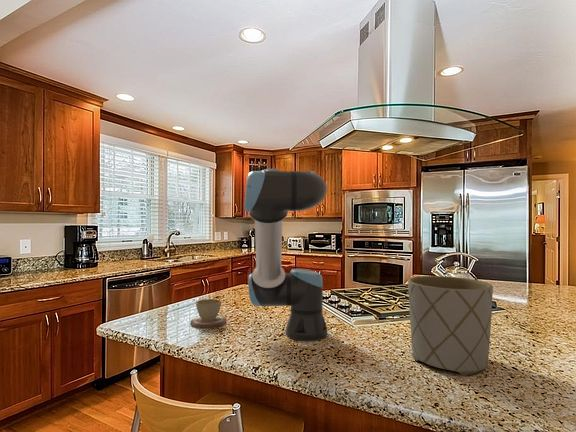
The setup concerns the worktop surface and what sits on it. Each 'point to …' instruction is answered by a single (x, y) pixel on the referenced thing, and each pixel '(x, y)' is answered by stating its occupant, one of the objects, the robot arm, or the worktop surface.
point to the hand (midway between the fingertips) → (270, 254)
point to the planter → (450, 322)
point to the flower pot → (208, 309)
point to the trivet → (208, 322)
